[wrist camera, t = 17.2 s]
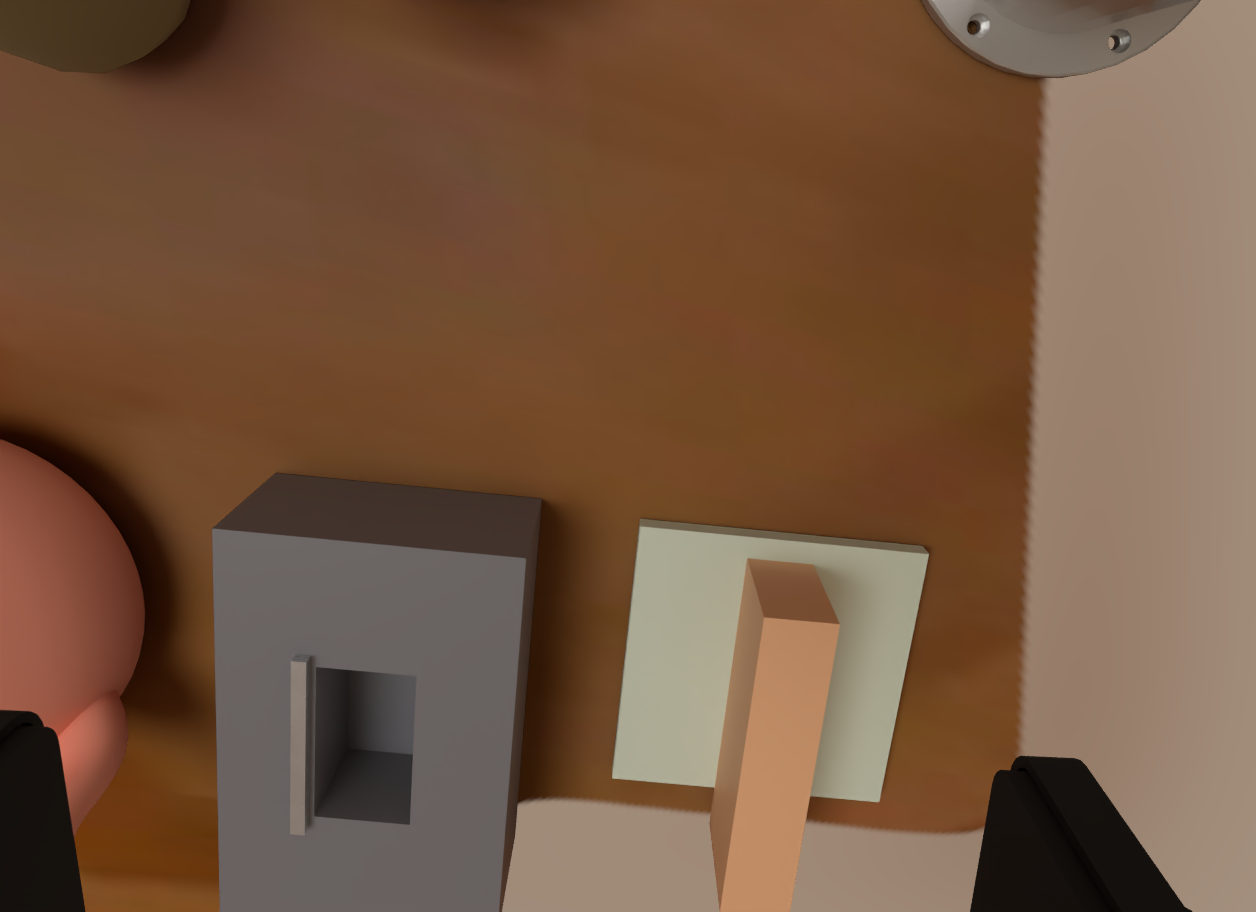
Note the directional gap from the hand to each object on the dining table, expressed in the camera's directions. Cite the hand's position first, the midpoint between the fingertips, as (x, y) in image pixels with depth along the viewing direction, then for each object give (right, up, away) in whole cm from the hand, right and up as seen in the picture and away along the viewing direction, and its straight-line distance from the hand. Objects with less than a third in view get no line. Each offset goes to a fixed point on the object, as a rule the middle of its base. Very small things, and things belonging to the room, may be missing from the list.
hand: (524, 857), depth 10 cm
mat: (+7, -6, +37) cm, 38 cm away
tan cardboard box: (+8, -2, +32) cm, 33 cm away
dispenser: (-10, -6, +37) cm, 39 cm away
